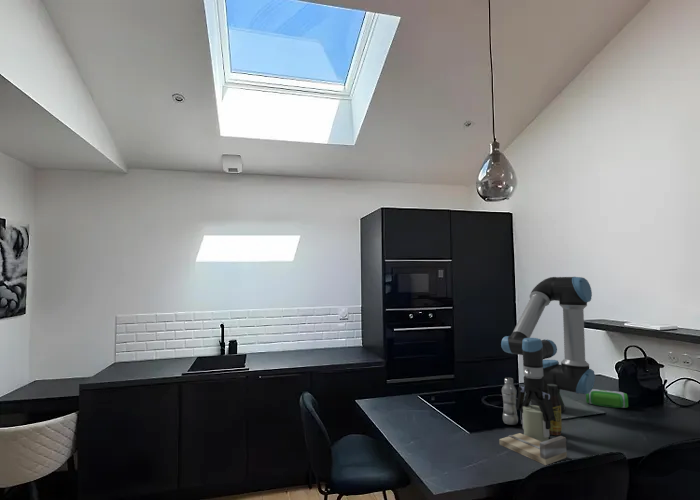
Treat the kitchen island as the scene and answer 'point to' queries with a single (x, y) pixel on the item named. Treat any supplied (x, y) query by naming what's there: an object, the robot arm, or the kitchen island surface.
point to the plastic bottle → (509, 402)
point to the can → (533, 422)
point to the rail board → (537, 447)
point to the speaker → (607, 398)
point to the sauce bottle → (555, 410)
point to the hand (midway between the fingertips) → (535, 432)
